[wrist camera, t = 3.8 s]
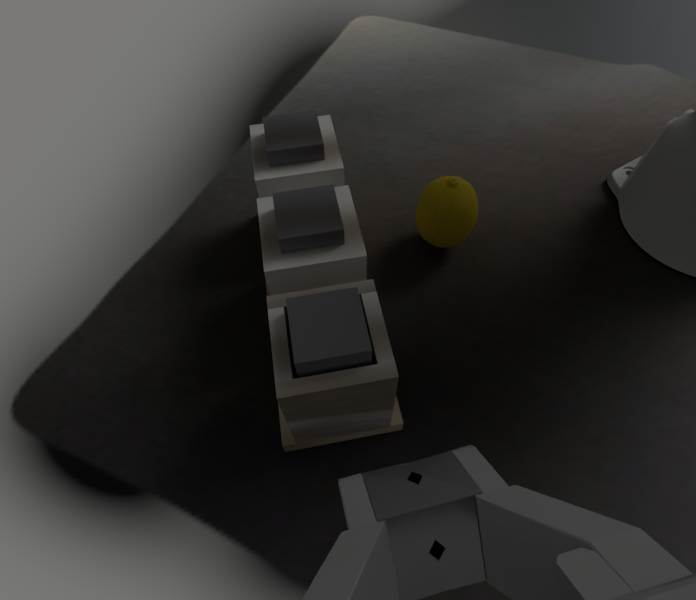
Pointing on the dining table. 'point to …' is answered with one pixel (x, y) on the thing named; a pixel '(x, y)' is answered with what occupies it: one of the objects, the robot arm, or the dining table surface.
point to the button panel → (317, 281)
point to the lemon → (447, 211)
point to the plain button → (328, 332)
